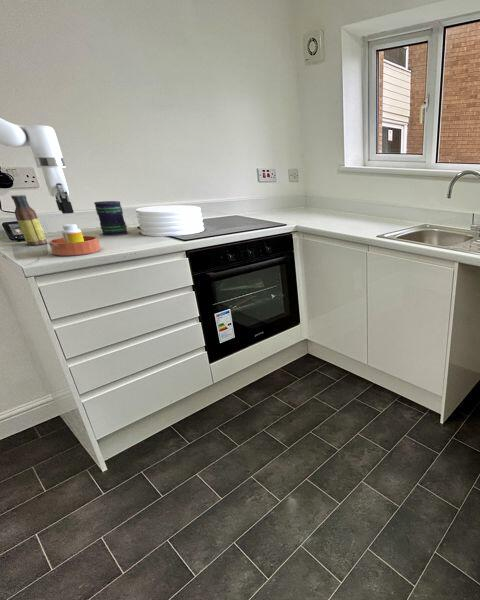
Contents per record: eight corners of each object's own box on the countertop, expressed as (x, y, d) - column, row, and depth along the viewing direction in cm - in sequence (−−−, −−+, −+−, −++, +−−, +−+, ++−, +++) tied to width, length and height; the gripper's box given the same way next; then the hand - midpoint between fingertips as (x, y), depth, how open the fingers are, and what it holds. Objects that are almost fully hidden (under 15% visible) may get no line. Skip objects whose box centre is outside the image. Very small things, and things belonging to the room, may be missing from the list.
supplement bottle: (90, 249, 139) (83, 224, 136) (77, 253, 134) (69, 226, 130) (77, 249, 140) (69, 223, 136) (64, 252, 135) (55, 225, 131)
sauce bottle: (44, 241, 151) (28, 194, 143) (50, 243, 148) (33, 195, 140) (23, 244, 145) (5, 194, 138) (29, 246, 142) (10, 196, 135)
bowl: (55, 258, 128) (50, 245, 126) (51, 251, 137) (46, 238, 135) (104, 252, 138) (100, 240, 136) (97, 246, 146) (94, 234, 145)
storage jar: (98, 234, 169) (89, 202, 163) (120, 231, 177) (112, 200, 171) (110, 236, 165) (101, 203, 159) (132, 233, 173) (124, 202, 168)
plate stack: (131, 230, 178) (126, 207, 174) (188, 224, 200) (184, 204, 196) (155, 238, 164) (150, 213, 159) (214, 231, 185) (211, 209, 181)
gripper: (34, 162, 128) (50, 210, 135) (38, 163, 117) (55, 215, 124) (61, 162, 133) (76, 208, 140) (67, 164, 123) (83, 213, 129)
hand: (66, 211), depth 132 cm, fingers open, 9 cm apart
